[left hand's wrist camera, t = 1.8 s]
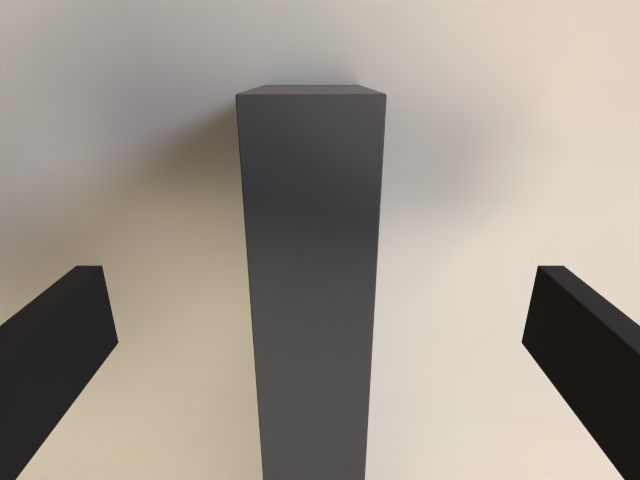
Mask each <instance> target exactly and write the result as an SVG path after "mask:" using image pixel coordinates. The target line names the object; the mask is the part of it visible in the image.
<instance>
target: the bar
mask: <svg viewBox="0 0 640 480" xmlns="http://www.w3.org/2000/svg"><path fill="white" fill-rule="evenodd" d="M236 108H237V122H238V136H239V150H240V164H241V178H242V192H243V206H244V219H245V233H246V247H247V261H248V275H249V289H250V303H251V317H252V331H253V344H254V358H255V372H256V386H257V400H258V414H259V428H260V442H261V456H262V470H263V480H365V466H366V448H367V431H368V413H369V395H370V378H371V360H372V342H373V325H374V307H375V290H376V272H377V254H378V237H379V219H380V201H381V184H382V166H383V148H384V131H385V113H386V94H384V93H381V92H378V91H375V90H372V89H369V88H366V87H363V86H360V85H265V86H261V87H258V88H255V89H252V90H248V91H245V92H242V93H239V94H236Z"/></svg>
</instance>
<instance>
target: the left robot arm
mask: <svg viewBox="0 0 640 480" xmlns="http://www.w3.org/2000/svg"><path fill="white" fill-rule="evenodd" d="M117 344H118V338H117V334H116V329H115V324H114V320H113V315H112V310H111V306H110V301H109V296H108V292H107V287H106V282H105V277H104V273H103V268H102V266H76V267H74V268H73V269H72V270H71V271H69V272H68V273H67V274H66V275H64V276H63V277H62V278H60V279H59V280H58V281H57V282H55V283H54V284H53V285H52V286H50V287H49V288H48V289H46V290H45V291H44V292H43V293H41V294H40V295H39V296H38V297H36V298H35V299H34V300H33V301H31V302H30V303H29V304H27V305H26V306H25V307H24V308H22V309H21V310H20V311H19V312H17V313H16V314H15V315H14V316H12V317H11V318H10V319H8V320H7V321H6V322H5V323H3V324H2V325H1V326H0V480H16V478H17V477H18V476H19V474H20V473H21V472H22V470H23V469H24V468H25V466H26V465H27V464H28V462H29V461H30V460H31V458H32V457H33V456H34V454H35V453H36V452H37V450H38V449H39V448H40V446H41V445H42V444H43V442H44V441H45V440H46V438H47V437H48V436H49V434H50V433H51V432H52V430H53V429H54V428H55V426H56V425H57V424H58V422H59V421H60V420H61V418H62V417H63V416H64V414H65V413H66V412H67V410H68V409H69V408H70V406H71V405H72V404H73V402H74V401H75V400H76V398H77V397H78V396H79V394H80V393H81V392H82V390H83V389H84V388H85V386H86V385H87V384H88V382H89V381H90V380H91V378H92V377H93V376H94V374H95V373H96V372H97V370H98V369H99V368H100V366H101V365H102V364H103V362H104V361H105V360H106V358H107V357H108V356H109V354H110V353H111V352H112V350H113V349H114V348H115V346H116V345H117ZM522 344H523V345H524V346H525V348H526V349H527V350H528V352H529V353H530V354H531V356H532V357H533V358H534V360H535V361H536V362H537V364H538V365H539V366H540V368H541V369H542V370H543V372H544V373H545V374H546V376H547V377H548V378H549V380H550V381H551V382H552V384H553V385H554V386H555V388H556V389H557V390H558V392H559V393H560V394H561V396H562V397H563V398H564V400H565V401H566V402H567V404H568V405H569V406H570V408H571V409H572V410H573V412H574V413H575V414H576V416H577V417H578V418H579V420H580V421H581V422H582V424H583V425H584V426H585V428H586V429H587V430H588V432H589V433H590V434H591V436H592V437H593V438H594V440H595V441H596V442H597V444H598V445H599V446H600V448H601V449H602V450H603V452H604V453H605V454H606V456H607V457H608V458H609V460H610V461H611V462H612V464H613V465H614V466H615V468H616V469H617V470H618V472H619V473H620V474H621V476H622V477H623V478H624V480H640V326H639V325H638V324H637V323H635V322H634V321H633V320H632V319H630V318H629V317H628V316H626V315H625V314H624V313H623V312H621V311H620V310H619V309H618V308H616V307H615V306H614V305H613V304H611V303H610V302H609V301H607V300H606V299H605V298H604V297H602V296H601V295H600V294H599V293H597V292H596V291H595V290H594V289H592V288H591V287H590V286H588V285H587V284H586V283H585V282H583V281H582V280H581V279H580V278H578V277H577V276H576V275H574V274H573V273H572V272H571V271H569V270H568V269H567V268H566V267H564V266H538V268H537V273H536V277H535V282H534V287H533V292H532V296H531V301H530V306H529V310H528V315H527V320H526V324H525V329H524V334H523V338H522Z"/></svg>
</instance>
